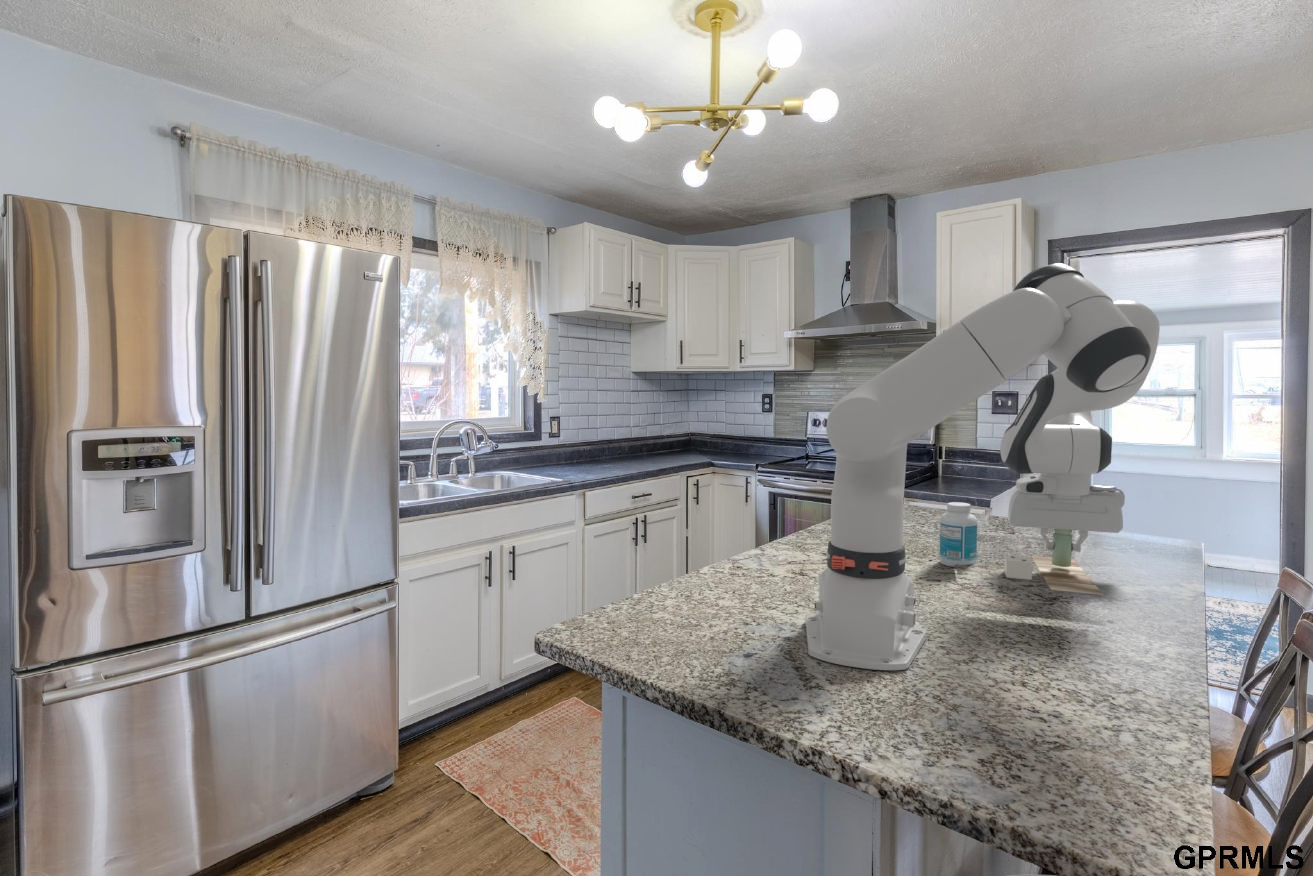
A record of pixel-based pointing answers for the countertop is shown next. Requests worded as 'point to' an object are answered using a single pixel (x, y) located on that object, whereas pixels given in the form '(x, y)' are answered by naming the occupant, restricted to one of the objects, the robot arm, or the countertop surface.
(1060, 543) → the green bottle
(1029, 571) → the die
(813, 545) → the countertop surface
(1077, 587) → the board
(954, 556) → the pill bottle
